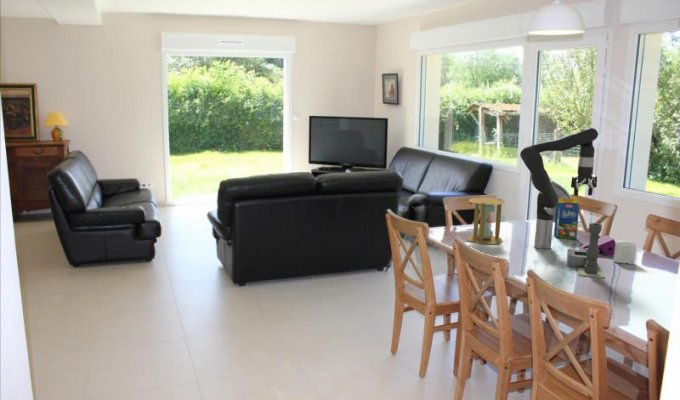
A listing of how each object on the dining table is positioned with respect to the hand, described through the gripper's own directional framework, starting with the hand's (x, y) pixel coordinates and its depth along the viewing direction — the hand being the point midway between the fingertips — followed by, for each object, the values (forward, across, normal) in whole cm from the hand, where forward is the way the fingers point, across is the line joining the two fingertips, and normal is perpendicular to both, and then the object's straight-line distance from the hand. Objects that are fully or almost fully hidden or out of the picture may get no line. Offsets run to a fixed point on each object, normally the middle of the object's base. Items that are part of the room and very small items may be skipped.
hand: (582, 195), depth 312 cm
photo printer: (+36, +23, -9) cm, 44 cm away
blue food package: (+36, +26, +46) cm, 64 cm away
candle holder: (+36, -8, -21) cm, 42 cm away
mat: (+36, -8, -22) cm, 43 cm away
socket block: (+36, -2, -7) cm, 37 cm away
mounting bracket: (+37, +22, +11) cm, 44 cm away
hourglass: (+36, -28, +51) cm, 69 cm away
